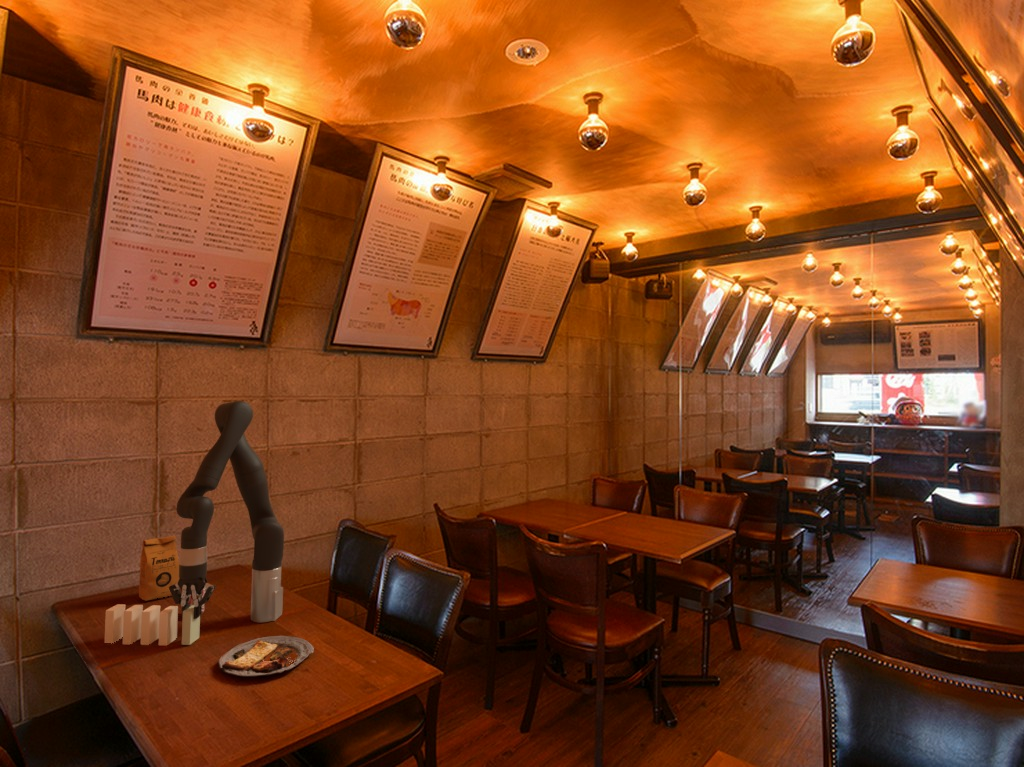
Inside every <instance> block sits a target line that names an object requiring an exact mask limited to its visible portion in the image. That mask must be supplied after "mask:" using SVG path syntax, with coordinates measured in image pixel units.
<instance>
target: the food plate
mask: <svg viewBox="0 0 1024 767" xmlns="http://www.w3.org/2000/svg"><path fill="white" fill-rule="evenodd" d="M278 647H283V648H278ZM289 648H290V649H289ZM291 649H294V650H295V651H294V653H296V655H298V657H297V659H296V658H295V661H296V662H295V661H294V663H293V664H291V665H290V666H287V667H286V664H287V662H288V661H289V660H290V661H291V659H288V658H289V657H288V658H286V657H284V656H286V655H287V654H288V655H290V654H292V653H293V650H291ZM314 650H315V647H314V646H313V645H312V643H310V642H309V641H308V640H305V639H304V638H301V637H297V636H287V635H275V636H274V635H272V636H265V637H264V636H263V637H260V638H255V639H251V640H249V641H246V642H242V643H239V644H237V645H235V646H233V647H232V648H231V649H230V650H228V651H227V652H225V653H224V654H223V655H221V656H220V658H219V659H218V662H217V664H218V667H219V670H220V671H222V672H223V673H224V674H228V675H233V676H236V677H237V676H238V677H241V678H244V677H245V678H251V677H252V678H253V677H260V676H261V677H262V676H266V677H268V676H271V675H275V674H276V675H278V674H282V673H283V672H284V671H291V669H293V668H294V667H297V666H298V665H299V664H301V662H303V661H304V660H305V659H307V658H308V657H309V655H310V654H313V653H314ZM273 651H275V652H274V653H273V654H272V656H271V657H270V661H264V660H265V658H266V657H268V655H270V653H272V652H273ZM291 652H292V653H291ZM289 653H290V654H289ZM288 655H287V656H288ZM261 661H263V662H261ZM290 661H289V662H290Z"/></svg>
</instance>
